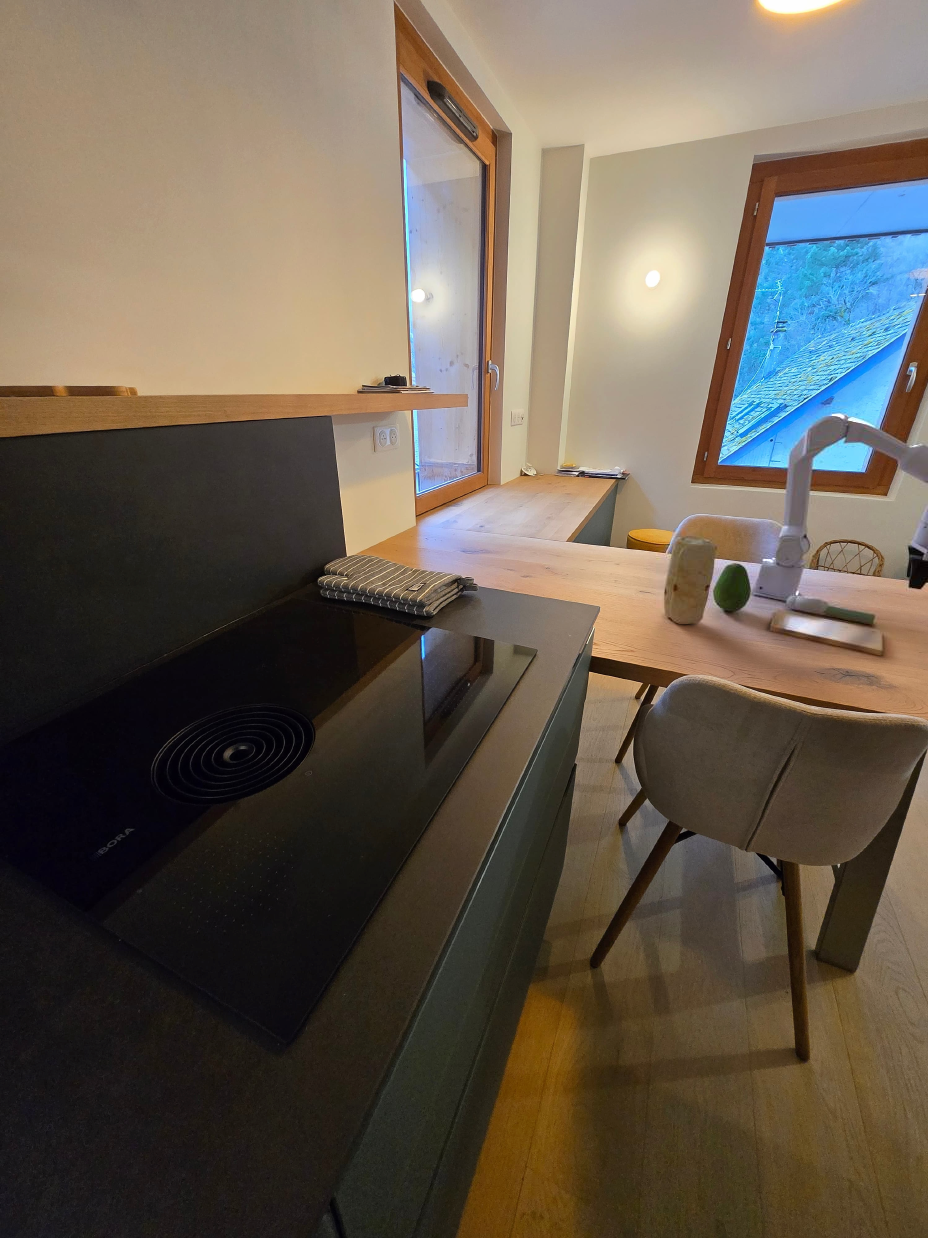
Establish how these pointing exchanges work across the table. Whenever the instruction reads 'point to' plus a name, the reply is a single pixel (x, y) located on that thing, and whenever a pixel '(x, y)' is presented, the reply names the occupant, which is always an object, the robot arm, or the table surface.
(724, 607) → the avocado
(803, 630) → the board
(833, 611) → the green-handled cylinder
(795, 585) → the robot arm
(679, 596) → the food model
